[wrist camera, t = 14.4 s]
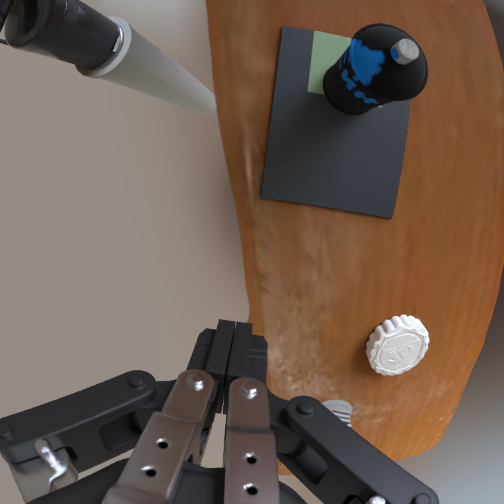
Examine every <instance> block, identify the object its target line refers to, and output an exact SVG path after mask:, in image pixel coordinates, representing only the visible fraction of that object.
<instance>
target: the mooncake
mask: <svg viewBox="0 0 504 504" xmlns="http://www.w3.org/2000/svg"><path fill="white" fill-rule="evenodd" d="M369 339H370V340H369V341H368V342H367V344H366V346H367V349H366V354H367V357H368V360H369V363H370V365H371V367H372V368H373V369H375V371H376V372H377V373H381V374H382V375H390V376H393V375H395V374H402V373H403V372H404V371H408V370H410V369H411V368H412V367H413V366H415V365H417V364H418V362H419V360H421V359H422V358H423V357H424V354H425V352H426V351H427V349H428V343H429V338H428V332H427V330H426V329H425V327H424V326H423V325H422V323H421V322H420V320H419V319H415V318H414V317H413V316H408V317H407V316H406V315H401V316H399V317H398V316H394V317H392V318H391V319H390V320H385V321H384V322H383V323H382V325H379V326H377V327H376V328H375V332H373V333H372V334H371V335H370V337H369Z"/></svg>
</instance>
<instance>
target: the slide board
mask: <svg viewBox="0 0 504 504" xmlns="http://www.w3.org/2000/svg"><path fill="white" fill-rule="evenodd" d="M351 40H352V39H351V38H347V37H343V36H338V35H334V34H329V33H324V32H318V31H313V30H307V29H301V28H294V27H286V26H282V34H281V42H280V50H279V58H278V66H277V74H276V82H275V90H274V98H273V106H272V113H271V121H270V129H269V137H268V145H267V153H266V161H265V168H264V176H263V184H262V192H261V198H267V199H274V200H281V201H288V202H295V203H302V204H309V205H315V206H322V207H328V208H334V209H340V210H346V211H352V212H358V213H363V214H369V215H374V216H380V217H385V218H390V219H392V216H393V212H394V207H395V202H396V197H397V192H398V186H399V181H400V175H401V169H402V163H403V157H404V150H405V143H406V135H407V127H408V118H409V108H410V99H409V100H406V101H394V102H390V103H387V104H384V105H381V106H378V107H375V108H372V109H371V110H369V111H368V112H366V113H363V114H359V115H350V114H345V113H343V112H340V111H339V110H337V109H336V108H335V107H333V106H332V105H331V104H330V102H329V101H328V100H327V98H326V96H325V94H324V90H323V78H324V75H325V73H326V72H327V70H328V69H329V68H330V67H331V66H332V65H334V64H335V63H336V62H337V60H338V59H339V58H340V57H341V55H342V54H343V53H344V52H345V50H346V49H347V48H348V47H349V45H350V43H351Z"/></svg>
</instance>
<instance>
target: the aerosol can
mask: <svg viewBox="0 0 504 504" xmlns="http://www.w3.org/2000/svg"><path fill="white" fill-rule="evenodd" d="M427 78H428V65H427V61H426V58H425V55H424V53H423V51H422V49H421V47H420V46H419V45H418V43H417V42H416V41H415V40H414V39H413V38H412V37H411V36H410V35H409V34H407V33H406V32H405V31H403V30H401V29H399V28H397V27H395V26H392V25H389V24H382V23H378V24H371V25H367V26H365V27H363V28H361V29H360V30H359V31H358V32H357V33H355V35H354V37H353V38H352V40H351V43H350V45H349V47H348V48H347V49H346V50H345V52H344V53H343V54H342V55H341V57H340V58H339V59H338V60H337V62H336V63H335V64H334V65H332V66H331V67H330V68H329V69H328V70H327V72H326V73H325V75H324V78H323V90H324V94H325V96H326V98H327V100H328V101H329V102H330V104H331V105H332V106H333V107H335V108H336V109H337V110H339V111H340V112H343V113H345V114H350V115H359V114H363V113H366V112H368V111H369V110H371V109H372V108H375V107H378V106H381V105H384V104H387V103H390V102H394V101H406V100H409V99H412V98H414V97H415V96H417V95H418V94H419V93H420V92H421V91H422V90H423V88H424V86H425V85H426V82H427Z"/></svg>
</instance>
